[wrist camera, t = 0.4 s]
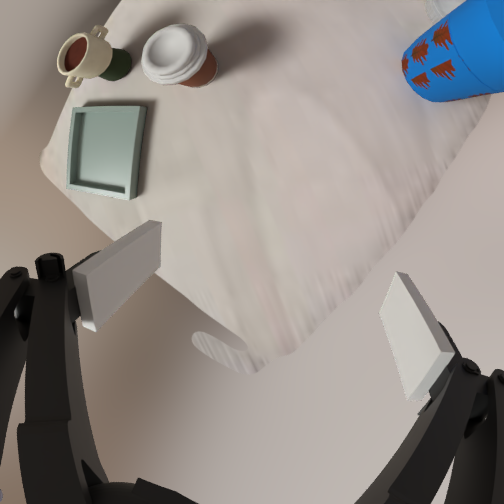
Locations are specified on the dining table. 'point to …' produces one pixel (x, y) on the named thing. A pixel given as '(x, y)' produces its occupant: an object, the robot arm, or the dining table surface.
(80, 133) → the tray
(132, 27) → the dining table surface
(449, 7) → the ramekin
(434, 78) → the thermos
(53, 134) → the dining table surface
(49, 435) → the robot arm
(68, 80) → the character mug
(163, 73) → the coffee cup
